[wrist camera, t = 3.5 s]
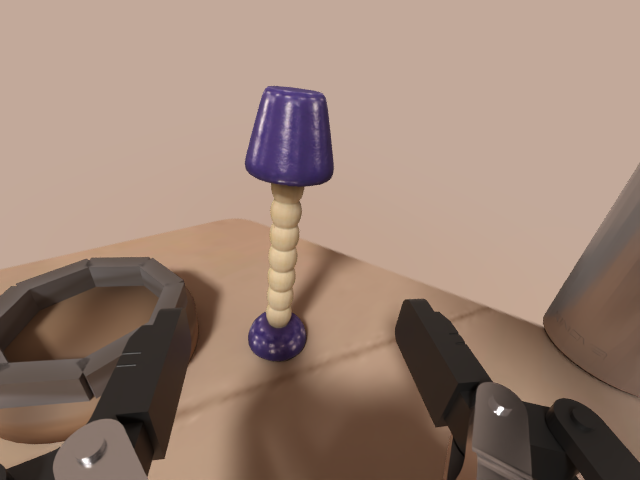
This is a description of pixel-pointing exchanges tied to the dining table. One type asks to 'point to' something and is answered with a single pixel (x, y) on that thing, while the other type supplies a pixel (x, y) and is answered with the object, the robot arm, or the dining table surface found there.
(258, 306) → the dining table surface
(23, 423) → the plinth
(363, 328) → the dining table surface
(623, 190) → the robot arm
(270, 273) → the toy lamp
